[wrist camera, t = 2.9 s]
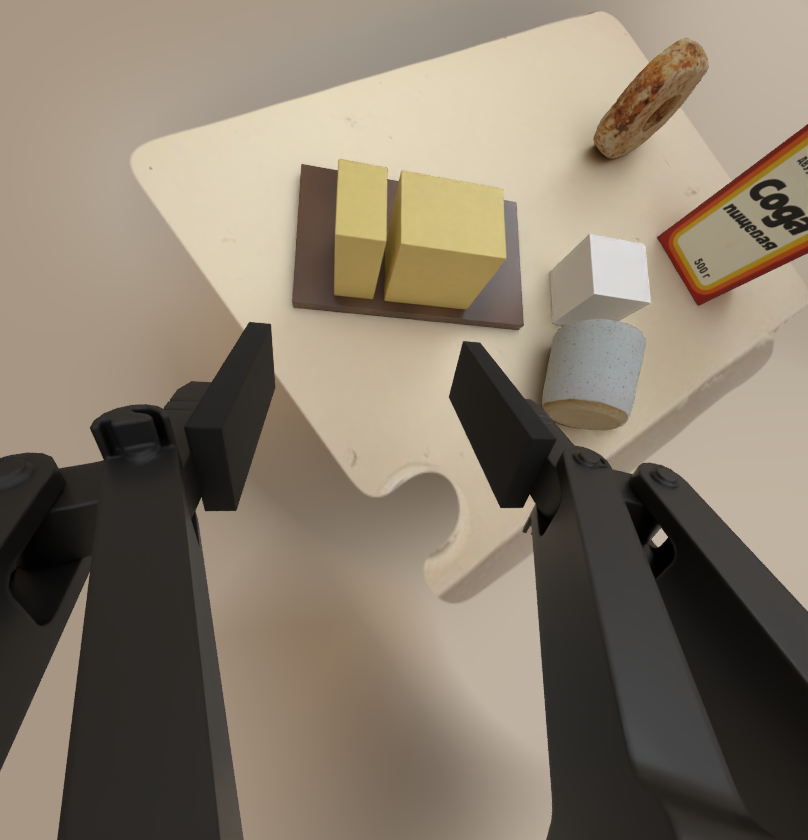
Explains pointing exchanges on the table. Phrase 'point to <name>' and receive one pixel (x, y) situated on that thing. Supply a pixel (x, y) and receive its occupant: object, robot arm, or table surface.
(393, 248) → the butter block
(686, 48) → the stone disc
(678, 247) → the baking soda box
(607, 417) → the ceramic mug
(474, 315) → the butter board
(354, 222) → the block
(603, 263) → the white cube
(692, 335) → the table surface
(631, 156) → the table surface
